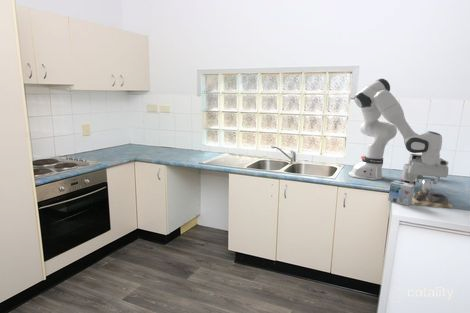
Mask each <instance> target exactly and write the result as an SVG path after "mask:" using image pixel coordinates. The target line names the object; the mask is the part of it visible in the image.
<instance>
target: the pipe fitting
mask: <svg viewBox="0 0 470 313" xmlns="http://www.w3.org/2000/svg"><path fill="white" fill-rule="evenodd" d="M432 182H433V181H432V180H431V179H429V178H422V182H421V187H420V191H422V192H423V193H424V194H425V195H426V196H427V195H428V193H431V192H430V191H431V188H432V187H431V185H432Z"/></svg>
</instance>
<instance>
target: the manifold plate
mask: <svg viewBox="0 0 470 313" xmlns="http://www.w3.org/2000/svg"><path fill="white" fill-rule="evenodd" d="M449 201H450V199H449V198H448V197H447V196H446V195H444V194H443V193H431V192H429V193H428V195H427V196H426V195H425V194H424V193H423V192H422V191H421V190H418V192H414V193H413V199H412V204H414V205H415V206H420V205H421V206H422V207H423V206H424V207H431V206H433V208H443V209H452V208H453V205H452V204H451V203H449Z"/></svg>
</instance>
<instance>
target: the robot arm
mask: <svg viewBox="0 0 470 313" xmlns="http://www.w3.org/2000/svg"><path fill="white" fill-rule="evenodd" d="M390 91H391V85H390V83H389V81H388V80H386V79H385V78H379V79H376V80H375V81H373V82H371V83H369V84H368V85H366V86H365V87H363V88H362V89H361V90H360V91H358V92H356V94H355V95H354V97H353V99H354V103H355V104H356V106H357V107H358V108H360V110H361V113H362V116H363V119H364V120H363V122H362V123H361V125H360V128H359V129H360V132H361V133H362V134H363V135H364V136H367V137H372V138H374V140H373V142H370V143H369V144H367V146H366V152H365V155H361V156H360V158H361V161H360V162H358V163H356V164H354V165H353V166H352V170H350V171H348V175H349V176H350V177H352V178H356V179H363V180H369V181H370V180H372V181H377V180H382V179H383V164H384V153H385V147H386V145H387V144H388V143H389V142H390V141H391V140H392V139H393V138H396V136H397V133H398V131H399V133H400V134H401V136H402V138H403V140H404V146H405V148H406V150H407V151H408V152H409V153H411V154H421V155H422V156H421V159H412V160H413V161H412V160H410V163H409V162H408V163H409V165H410V166H409V169H408V173H409V174H411V175H414V177H415V182H416V183H420V178H417V177H418V175H422V176H423V177H434V178H435V180H433V181H432V184H433V185H437V183H438V182H439V180H440V179H441V178H448V175H449V161H447V160H446V159H443V158H440V156H441V154H440V153H441V151H442V147H443V136H442V134H440V133H439V132H434V131H431V130H428V131H426V132H425V133H422V134H418V133H417V132H415V131H414V130H413V128H412V127H411V126H410V124H409V123H408V122H407V120H406V118H405V113H404V110H403V107H402V106H401V104H400V102H399V100H397V98H396V97H395V96H394V95H393V94H392V93H391V92H390ZM381 116H382V117H383V118H384V119H385V120H386V121H387V122H383V121H379V118H381Z"/></svg>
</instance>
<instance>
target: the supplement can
mask: <svg viewBox="0 0 470 313" xmlns="http://www.w3.org/2000/svg"><path fill="white" fill-rule="evenodd" d="M409 166H410V165H409V164H408V163H405V164H404V165H403V168H402V173H401V179H400V182H404V183H409V184H413V185H415V187H414V189H416V183H417V182H415V177H414V175H411V174H409V173H408V169H409Z"/></svg>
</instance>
